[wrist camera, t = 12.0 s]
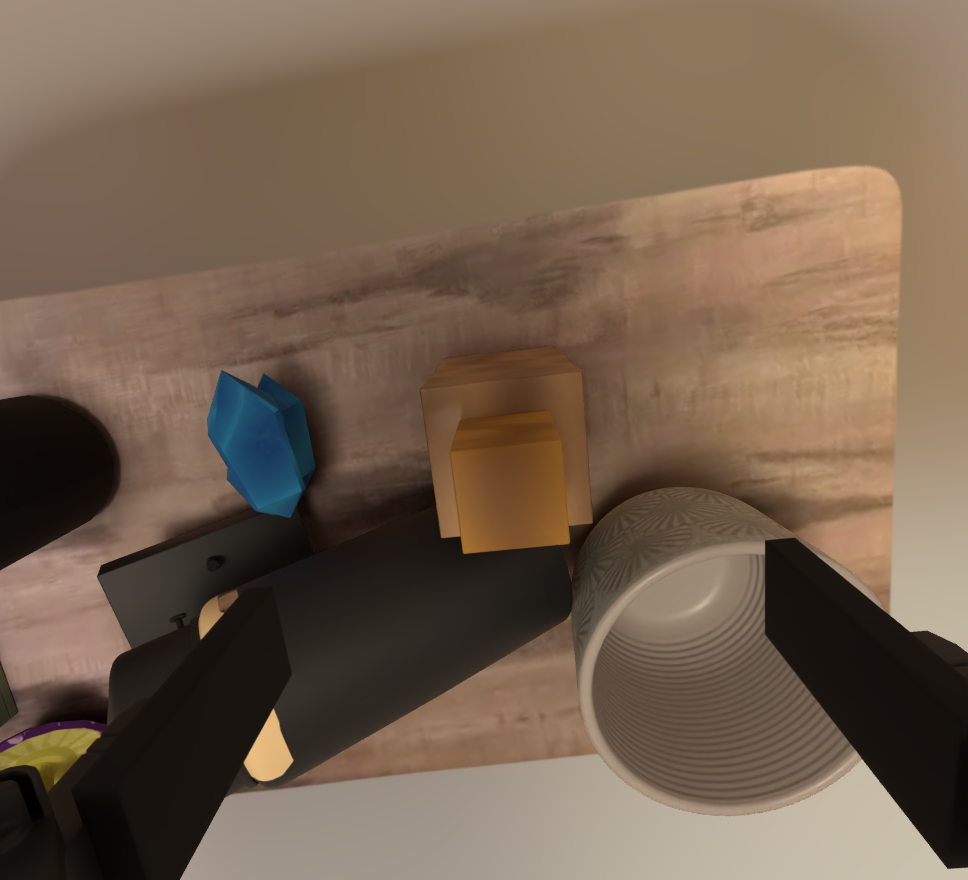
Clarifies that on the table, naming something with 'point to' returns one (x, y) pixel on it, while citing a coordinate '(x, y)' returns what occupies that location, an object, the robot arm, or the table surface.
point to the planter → (696, 659)
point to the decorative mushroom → (50, 747)
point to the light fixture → (333, 622)
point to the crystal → (262, 442)
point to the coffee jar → (47, 474)
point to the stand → (504, 391)
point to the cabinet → (5, 700)
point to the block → (509, 482)
